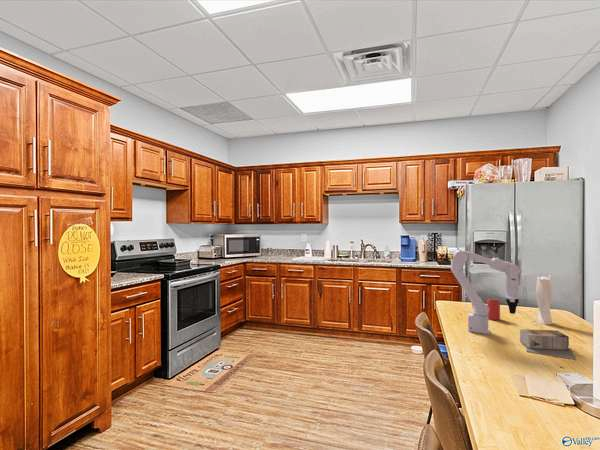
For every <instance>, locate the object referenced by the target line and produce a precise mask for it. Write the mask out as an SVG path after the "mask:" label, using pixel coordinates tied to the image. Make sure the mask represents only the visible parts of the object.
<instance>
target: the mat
mask: <svg viewBox="0 0 600 450" xmlns="http://www.w3.org/2000/svg"><path fill="white" fill-rule="evenodd" d="M525 347H526V352H527V353H531V354H536V355H537V354H538V355H544V356H549V357H550V356H551V357H555V358H563V359H569V360H575V361H576V360H577V358H576V355H575V354H574V352H573V350H572V348H569V347H568V350H555V349H538V348H528V347H527V346H525Z"/></svg>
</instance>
